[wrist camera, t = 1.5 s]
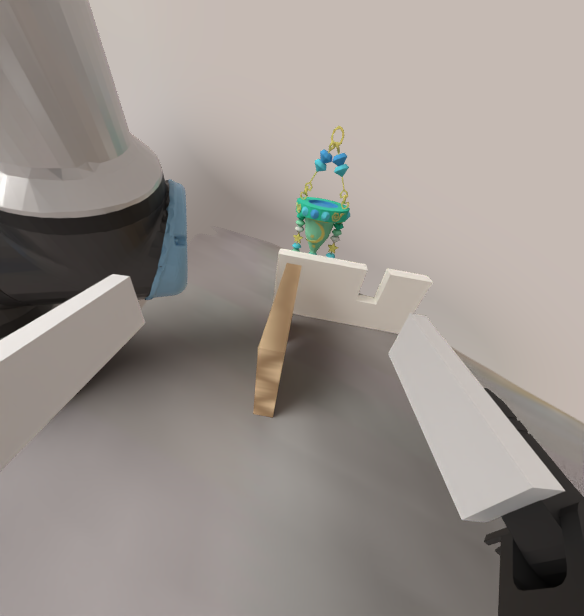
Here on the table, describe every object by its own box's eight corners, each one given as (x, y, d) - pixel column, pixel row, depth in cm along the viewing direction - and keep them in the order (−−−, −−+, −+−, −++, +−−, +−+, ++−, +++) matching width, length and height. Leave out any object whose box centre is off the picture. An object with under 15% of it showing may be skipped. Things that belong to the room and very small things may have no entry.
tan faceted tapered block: (253, 413, 26) (258, 347, 19) (278, 320, 41) (286, 262, 34) (272, 417, 26) (284, 352, 19) (290, 323, 41) (301, 265, 34)
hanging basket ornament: (274, 291, 48) (294, 115, 30) (292, 272, 57) (316, 125, 39) (320, 308, 46) (372, 126, 28) (332, 285, 54) (377, 135, 36)
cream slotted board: (272, 310, 43) (278, 253, 36) (274, 303, 45) (280, 248, 38) (400, 334, 43) (433, 282, 36) (397, 326, 45) (427, 275, 37)
